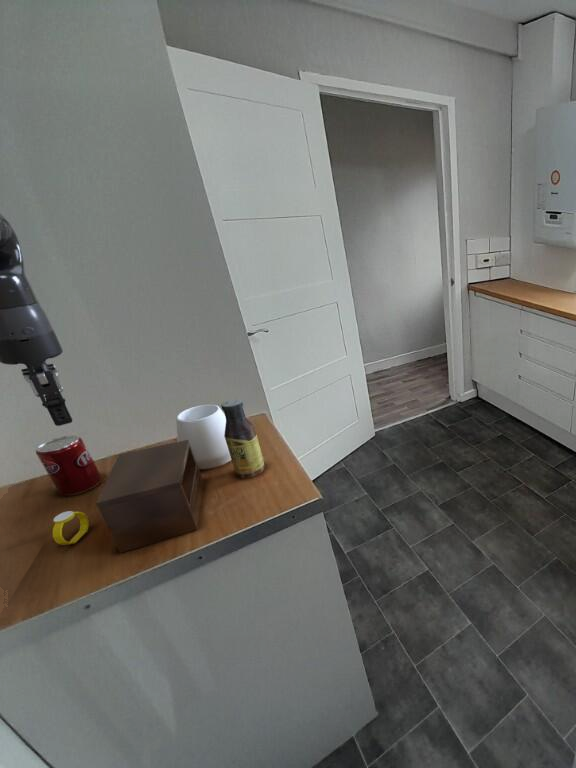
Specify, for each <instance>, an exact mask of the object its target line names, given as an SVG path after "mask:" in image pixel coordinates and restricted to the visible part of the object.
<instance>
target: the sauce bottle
mask: <svg viewBox="0 0 576 768" xmlns="http://www.w3.org/2000/svg"><path fill="white" fill-rule="evenodd" d="M220 406H221V410H222V412H223V413H224V414H225V417H226V426H225V435H224V437H225V440H226V443H227V446H228V450H229V453H230V456H231V459H232V460H231V461H232V465H233V469H234V471H235V473H236V475H237V476H238V477H239V478H241V479H249V478H253V477H256V476H258V475H260V474H261V473H263V471H264V469H265V466H266V465H265V461H264V457H263V453H262V450H261V446H260V442H259V438H258V434H257V432H256V430H255V425H254V423H253V422H252V421H251V420H250V419H249V418H247V417H246V414H245V411H244V408H243V407H244V403H243V400H242V399H241V398H230V399H227V400H224V401H223V402H222V403H221V404H220Z"/></svg>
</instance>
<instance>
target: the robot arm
mask: <svg viewBox="0 0 576 768" xmlns="http://www.w3.org/2000/svg"><path fill="white" fill-rule="evenodd" d="M22 253H23V252H22V249H21V245H20V241H19V238H18V235H17V233H16V231H15V229H14V227H13V226H12V224H11V223H10V222H9V220H8V219H7V218H6V217H5V216H4V215H3V214H2V213H0V363H1V364H4V365H9V366H10V365H13V366H14V365H25V368H20V370H21V374H22V376H23V379H24V381H25V382H26V383H28V384H29V386H30V388H31V390H32V392H33V394H34V396H35V397H37V398H40V400H41V402H42V403H41V405H42V407H44V408H45V409H47V412H48V413H49V416H50V417H51V419H52V421H53V423H54V425H55V426H56V427H60V426H64V425H68V424H71V423H73V421H74V420H73V418H72V416H71V413H70V411H69V410H68V407H67V405H66V401H67V400H66V398H64V397H63V395H62V392H64V388H63V385H62V383H61V381H60V379H59V376H60V374H59V373H58V371H57V368H56V366H55V364H54V363H53V362H52V363H47V360H50V359H53V358H57V357H58V356H61V355H62V353H64V351H63V347H62V346H61V343H60V341H59V338H58V336H57V334H56V332H55V330H54V328H53V325H52V323H51V321H50V319H49V316H48V315H47V313H46V311H45V310H44V308H43V307H42V305H41V304H40V302H39V299H38V297H37V295H36V293H35V291H34V288H33V286H32V284H31V282H30V280H29V278H28V277H27V274H26V269H25V262H24V258H23V254H22Z"/></svg>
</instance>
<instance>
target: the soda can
mask: <svg viewBox="0 0 576 768" xmlns="http://www.w3.org/2000/svg"><path fill="white" fill-rule="evenodd" d="M35 455H36V456H37V458H38V459H39V462H40V463H41V464H42V466H43V469H44V470H45V472H46V473H47V476H49V478H50V480H51V482H52V483H53V485H54V487H55V488H56V490H57V491H58V493H59V494H60V495H62V496H75V495H80V494H83V493H85V492H89V491H91V490H93V489H94V488H96V487H97V486H98V485H99V484H100V483H101V481H102V479H103V476H102V475H101V473H100V471H99V469H98V467H97V465H96V463H95V460H94V458H93V457H92V455H91V453H90V451H89V449H88V448H87V445H86V444H85V442H84V440H83V438H82V437H80V436H78V435H73V434H72V435H64V436H59V437H56V438H52V439H50V440H48V441H45V442H43V443H41V444H40V445H39V446H37V448H36V450H35Z"/></svg>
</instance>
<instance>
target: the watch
mask: <svg viewBox="0 0 576 768" xmlns="http://www.w3.org/2000/svg"><path fill="white" fill-rule="evenodd" d="M75 516H76V517H77V518H78V519H79V524H80V526H79V529H78V531H77V532H76V534H75V535H74V536H73V537H72V538H71V539H70V540H69V541H68V540H65V538H64V536H63V527H64V525H65V523H68V522H70V521H71V520H72V519H74V518H75ZM52 520H53V522H54V525H53V527H52V539H53V540H54V541H55V543H56V544H58V545H61V546H66V545H67V546H68V545H73V544H77V543H78V541H80V540H81V538H82V537H84V535H85V534H86V533H88V530H89V527H90V521H89V518H88V516H87V514H86V513H85V512H82V511H72V510H67V511H63V512H61V513H59V514H57V515H56V516H55V517H53V519H52Z"/></svg>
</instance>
